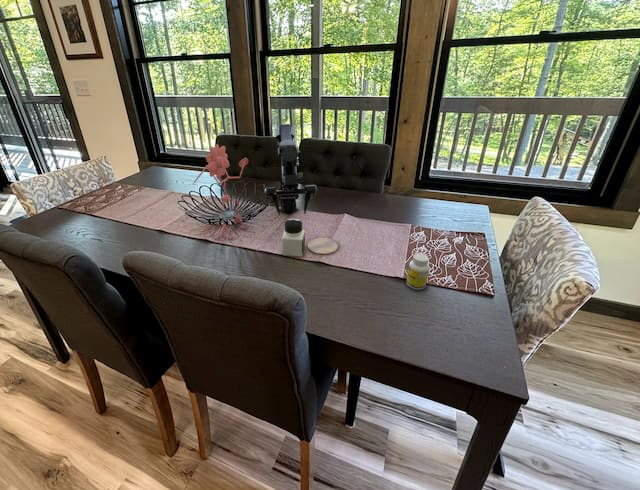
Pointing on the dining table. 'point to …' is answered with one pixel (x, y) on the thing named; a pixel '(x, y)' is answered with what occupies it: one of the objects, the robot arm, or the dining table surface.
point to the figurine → (217, 168)
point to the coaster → (322, 246)
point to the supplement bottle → (418, 272)
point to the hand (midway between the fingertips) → (292, 214)
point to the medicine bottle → (293, 238)
